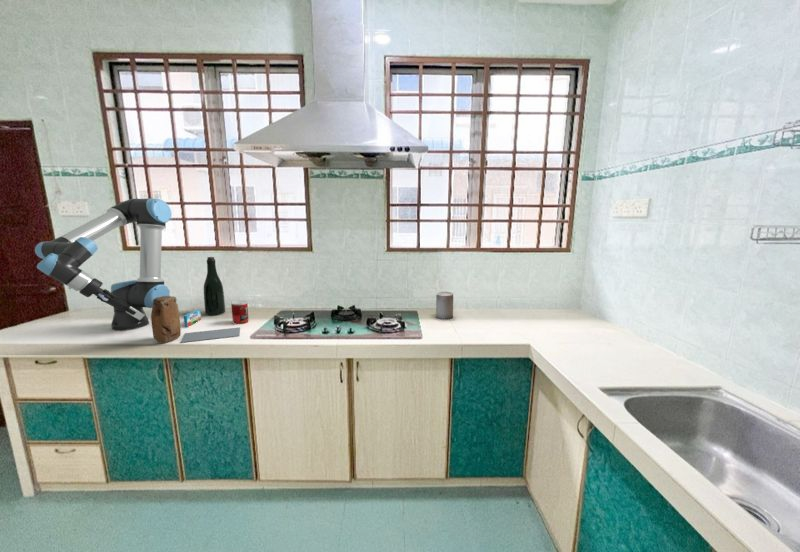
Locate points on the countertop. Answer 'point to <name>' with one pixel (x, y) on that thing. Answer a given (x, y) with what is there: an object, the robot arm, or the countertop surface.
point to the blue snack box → (192, 318)
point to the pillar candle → (444, 305)
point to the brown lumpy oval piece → (165, 319)
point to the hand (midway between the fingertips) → (142, 317)
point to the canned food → (240, 312)
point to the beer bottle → (213, 290)
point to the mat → (210, 335)
